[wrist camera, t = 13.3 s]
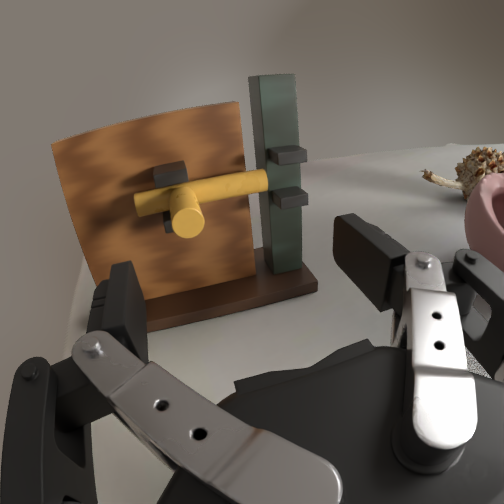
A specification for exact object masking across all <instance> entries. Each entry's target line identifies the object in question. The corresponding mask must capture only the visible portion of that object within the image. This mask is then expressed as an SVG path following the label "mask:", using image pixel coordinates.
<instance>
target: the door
mask: <svg viewBox="0 0 504 504" xmlns="http://www.w3.org/2000/svg"><path fill="white" fill-rule="evenodd" d="M248 82H249V92H250V102H251V113H252V124H253V135H254V146H255V157H256V167H257V169H264V170H265V172H266V175H267V179H268V190H267V191H264V192H259V203H260V214H261V226H262V238H263V247H261V248H256V249H254V247H253V237H252V227H251V217H250V207H249V197H248V195H242V196H237V197H232V198H227V199H221V200H216V201H211V202H206V203H202V204H199V206H200V209H201V211H202V214H203V217H204V227H203V229H202V231H201V232H200V233H199V234H198V235H197V236H195V237H192V238H182V237H180V236H178V235H177V234H176V233H175V232H174V231H173V229H172V224H171V216H170V210H169V211H164V212H160V213H155V214H151V215H146V216H142V217H139V216H138V214H137V211H136V207H135V202H134V194H136V193H140V192H144V191H149V190H153V189H157V188H162V187H167V186H171V185H176V184H181V183H186V182H190V181H195V180H201V179H206V178H211V177H216V176H222V175H227V174H233V173H239V172H245V171H246V168H245V158H244V148H243V139H242V128H241V118H240V109H239V102H234V101H233V102H225V103H218V104H210V105H204V106H198V107H191V108H185V109H180V110H175V111H169V112H164V113H159V114H154V115H149V116H145V117H141V118H136V119H132V120H128V121H123V122H120V123H116V124H112V125H108V126H104V127H101V128H97V129H93V130H90V131H87V132H83V133H80V134H77V135H73V136H70V137H67V138H64V139H61V140H58V141H56V142H54V143H53V144H51V146H52V151H53V155H54V159H55V163H56V167H57V171H58V175H59V178H60V182H61V186H62V189H63V193H64V196H65V199H66V202H67V206H68V209H69V213H70V216H71V219H72V222H73V225H74V228H75V231H76V234H77V237H78V239H79V242H80V245H81V248H82V250H83V253H84V256H85V259H86V261H87V264H88V266H89V269H90V271H91V274H92V276H93V279H94V281H95V284H96V286H98V285H99V283H100V282H101V281H102V280H106V279H109V275H110V270H111V265H112V264H116V263H121V262H125V261H129V260H131V261H132V263H133V266H134V269H135V272H136V275H137V278H138V281H139V284H140V287H141V289H142V292H143V295H144V299H145V303H146V312H147V332H152V331H157V330H161V329H166V328H171V327H175V326H180V325H184V324H189V323H193V322H197V321H202V320H206V319H210V318H215V317H219V316H223V315H227V314H231V313H235V312H239V311H243V310H247V309H251V308H255V307H259V306H263V305H267V304H271V303H275V302H278V301H282V300H286V299H290V298H293V297H297V296H301V295H304V294H308V293H311V292H315V291H318V280H317V279H316V278H315V277H314V275H313V274H312V273H311V271H310V270H309V269H308V268H307V266H306V265H305V264H304V263H303V261H302V208H301V206H305V205H308V193H306V192H305V191H304V190H302V189H301V174H300V163H303V162H307V150H306V149H304V148H302V147H300V146H299V132H298V112H297V97H296V82H295V74H277V75H259V76H250V77H248Z"/></svg>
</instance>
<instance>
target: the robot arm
mask: <svg viewBox="0 0 504 504" xmlns="http://www.w3.org/2000/svg"><path fill="white" fill-rule="evenodd" d="M333 256H334V260H335V262H336V264H337V265H338V266H339V267H340V268H341V269H342V270H343V272H344V273H345V274H346V275H347V276H348V277H349V278H350V279H351V280H352V281H353V282H354V283H355V285H356V286H357V287H358V288H359V289H360V290H361V291H362V292H363V293H364V294H365V296H366V297H367V298H368V299H369V300H370V301H371V302H372V303H373V305H374V306H375V307H376V308H377V309H378V310H379V311H380V312H383V311H385V310H388V309H391V308H392V309H393V310H394V311H393V315H392V327H391V342H390V347H389V346H381V347H374V346H373V345H372V344H371V342H370V341H369V340H368V339H365V340H362V341H360V342H357V343H354V344H352V345H349V346H346V347H343V348H341V349H338V350H337V351H335V352H333V353H332V354H330V355H329V356H327V357H326V358H324V359H322V360H321V361H319V362H318V363H316V364H314V365H313V366H311V367H308V368H303V369H293V370H283V371H271V372H267V373H263V374H259V375H256V376H252V377H249V378H245V379H241V380H237V381H234V385H235V389H236V392H235V393H233V394H231V395H229V396H228V397H226V398H225V399H223V400H222V401H221V402H219V403H218V404H217V405H215V404H214V403H212V402H211V401H209V400H208V399H206V398H205V397H203V396H202V395H200V394H199V393H197V392H196V391H194V390H193V389H191V388H190V387H188V386H187V385H185V384H184V383H183V382H181V381H180V380H178V379H177V378H176V377H174V376H173V375H171V374H170V373H169V372H167V371H166V370H165V369H163V368H162V367H161V366H159V365H158V364H156V363H155V362H153V361H150V362H148V343H147V312H146V303H145V299H144V295H143V292H142V289H141V287H140V284H139V281H138V278H137V275H136V272H135V269H134V266H133V263H132V261H131V260H129V261H125V262H121V263H116V264H112V265H111V270H110V275H109V279H106V280H102V281H101V282H100V283H99V285H98V286H97V287H96V289H95V291H94V295H93V301H92V305H91V310H90V315H89V320H88V326H87V332H86V334H85V335H83V336H82V337H81V338H79V339H78V340H77V341H76V343H75V344H74V346H73V348H72V356H71V357H69V358H67V359H65V360H63V361H60V362H58V363H56V364H54V365H52V366H50V364H49V363H48V362H47V360H46V359H44V358H42V357H33V358H30V359H28V360H26V361H25V362H23V363H22V364H21V365H20V366H19V367H18V369H17V370H16V373H15V375H14V379H13V384H12V389H11V394H10V400H9V405H8V411H7V417H6V424H5V432H4V441H3V451H2V462H1V482H0V504H98V501H97V494H96V486H95V477H94V467H93V455H92V439H91V422H93V421H95V420H98V419H100V418H102V417H104V416H106V415H109V414H111V413H112V414H113V415H114V416H115V417H116V418H117V419H118V420H119V421H120V422H121V423H122V424H123V425H124V426H125V427H126V428H127V429H128V430H129V431H130V432H131V433H132V434H133V435H134V436H135V437H136V438H137V439H138V440H139V441H140V442H141V443H142V444H143V445H145V446H146V447H147V448H148V449H149V450H150V451H151V452H152V453H153V454H154V455H155V456H156V457H157V458H158V459H159V460H160V461H161V462H162V463H163V464H164V465H166V466H167V467H168V468H169V469H170V470H172V471H173V472H174V474H173V476H172V478H171V479H170V481H169V483H168V485H167V486H166V488H165V490H164V492H163V493H162V495H161V497H160V499H159V500H158V502H157V504H504V273H503V272H502V271H501V270H500V269H499V268H497V267H496V266H495V265H494V264H492V263H491V262H490V261H489V260H487V259H486V258H485V257H484V256H482V255H481V254H480V253H478V252H476V251H473V250H469V249H460V250H458V251H457V252H456V254H455V258H454V262H445V263H441V262H440V261H439V259H438V258H437V257H435V256H434V255H432V254H430V253H427V252H422V251H414V252H410V251H408V250H407V249H406V248H405V247H403V246H402V245H401V244H400V243H398V242H397V241H396V240H394V239H392V238H391V237H390V236H389V235H388V234H385V232H384V231H382V230H381V229H380V228H378V227H377V226H375V225H372V224H369V223H367V222H365V221H364V220H362V219H361V218H360V217H358V216H357V215H356V214H354V213H351V214H346V215H341V216H337V217H335V220H334V233H333ZM477 293H478V294H479V295H480V296H481V297H482V298H483V299H484V300H485V301H486V302H487V303H488V304H489V305H490V307H491V310H492V315H491V318H490V320H489V322H488V321H487V320H486V319H485V318H484V317H483V316H482V315H481V314H480V313H479V312H478V311H477V310H476V309H475V308H474V307H473V306H472V305H473V303H474V300H475V297H476V295H477ZM465 346H466V348H467V349H468V350H469V351H470V352H471V353H472V355H473V356H474V357H475V358H476V359H477V361H478V362H479V363H480V364H481V366H482V367H483V368H484V369H485V370H486V372H487V373H488V374H489V375H490V377H491V378H492V379H491V378H487V377H484V376H481V375H478V374H475V373H472V372H469V371H468V368H467V360H466V352H465Z"/></svg>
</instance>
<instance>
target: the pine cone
mask: <svg viewBox="0 0 504 504" xmlns="http://www.w3.org/2000/svg"><path fill="white" fill-rule="evenodd" d="M457 165H458V166H457V167H455V170H456V172H457V175H458V179H455V180H456V181H451V180H447V179H444V178H441V177H439V176H437V175H435V174H433V173H432V172H431V171H430V172H429V171H428V170H426V169H425V170H422V171H421V172H424V175H423V176H422V177H423V178H424V179H426V180H428V181H429V182H433V183H435V184H438V185H440V186H446V187H448V188H454V189H460V190H462V193H463V195H464V199H467V201H468V199H469V197H470V195H471V193H472V191H473V189H474V188H475V186H476V185H477V184H478V183H479V181H480V180H481V179H482V178H483V177H484V176H485V175H489V174H490V173H504V152H503V153H502V152H501V151H500V152H499V153H496V149H495V150H494V151H492V147H491V148H486V147H483V150H482V151H481V149H480V148H479V147H477V148H476V150H472V153H471V154H470V155H468V156H466V159H465V158H463V163H457Z"/></svg>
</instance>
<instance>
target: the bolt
mask: <svg viewBox="0 0 504 504" xmlns="http://www.w3.org/2000/svg"><path fill="white" fill-rule="evenodd" d="M267 190H268V179H267V175H266V172H265V170H264V169H257V170H251V171H245V172H239V173H233V174H227V175H222V176H216V177H211V178H206V179H201V180H195V181H190V182H186V183H181V184H176V185H171V186H167V187H162V188H157V189H153V190H149V191H144V192H140V193H136V194H134V202H135V207H136V211H137V214H138V216H139V217H142V216H146V215H151V214H155V213H160V212H164V211H169V210H170V216H171V224H172V229H173V231H174V232H175V233H176V234H177V235H178V236H180V237H182V238H192V237H195V236H197V235H198V234H199V233H200V232H201V231H202V229H203V227H204V217H203V214H202V211H201V209H200V206H199V204H202V203H206V202H211V201H216V200H221V199H227V198H232V197H237V196H242V195H248V194H253V193H259V192H264V191H267Z"/></svg>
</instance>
